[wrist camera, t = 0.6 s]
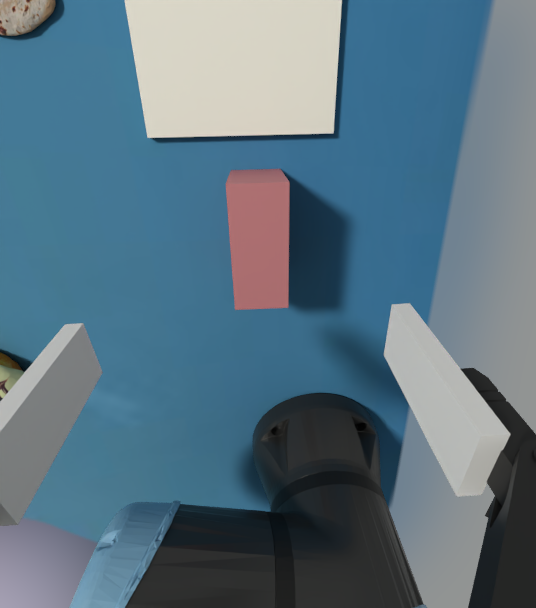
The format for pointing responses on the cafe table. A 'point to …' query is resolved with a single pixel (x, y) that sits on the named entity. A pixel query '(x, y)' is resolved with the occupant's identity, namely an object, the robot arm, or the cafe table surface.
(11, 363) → the decorated donut
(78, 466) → the cafe table surface
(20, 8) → the flatbread
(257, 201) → the card deck box
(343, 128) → the cafe table surface
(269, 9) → the serving mat
